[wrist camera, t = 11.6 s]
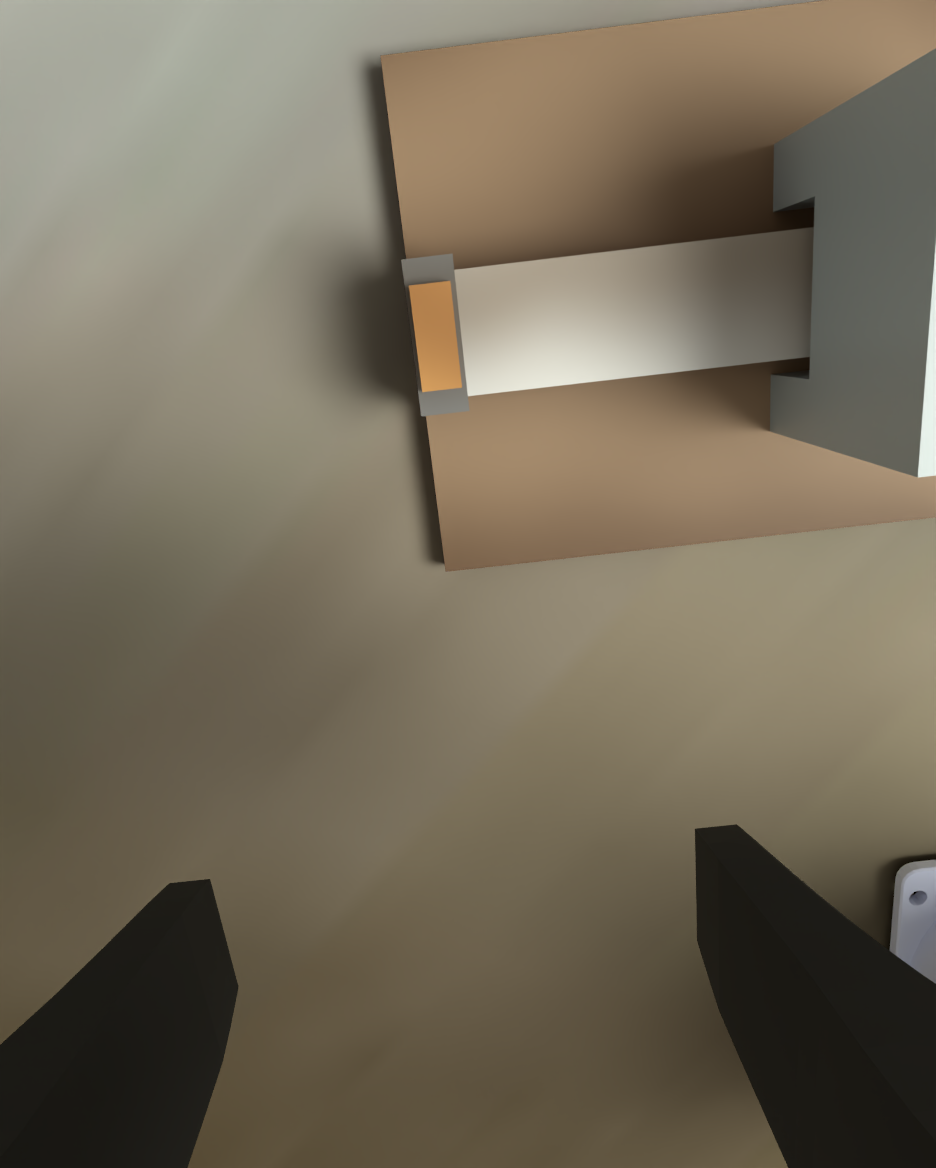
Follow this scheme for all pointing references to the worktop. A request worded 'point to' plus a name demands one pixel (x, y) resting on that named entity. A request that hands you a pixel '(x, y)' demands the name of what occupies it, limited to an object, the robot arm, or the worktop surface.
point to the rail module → (867, 275)
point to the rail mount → (627, 278)
